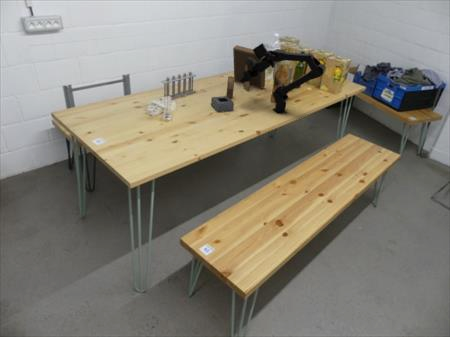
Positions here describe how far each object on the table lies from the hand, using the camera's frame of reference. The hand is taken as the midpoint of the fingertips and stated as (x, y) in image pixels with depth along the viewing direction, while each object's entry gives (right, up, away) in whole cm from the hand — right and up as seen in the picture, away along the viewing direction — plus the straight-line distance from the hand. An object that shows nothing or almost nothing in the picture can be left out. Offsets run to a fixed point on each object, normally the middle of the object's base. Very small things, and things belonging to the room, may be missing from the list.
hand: (243, 79), depth 215 cm
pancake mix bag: (+22, -9, +15) cm, 28 cm away
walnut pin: (-8, -9, +10) cm, 16 cm away
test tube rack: (-39, -8, +6) cm, 41 cm away
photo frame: (+3, +2, +30) cm, 30 cm away
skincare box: (+28, +1, +30) cm, 41 cm away
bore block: (-13, -18, -4) cm, 22 cm away
